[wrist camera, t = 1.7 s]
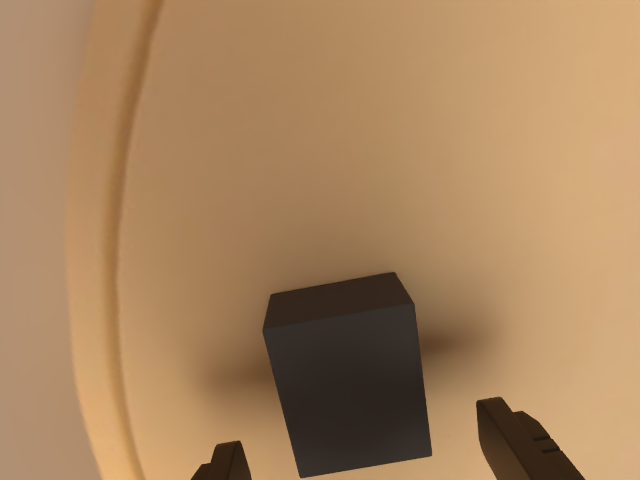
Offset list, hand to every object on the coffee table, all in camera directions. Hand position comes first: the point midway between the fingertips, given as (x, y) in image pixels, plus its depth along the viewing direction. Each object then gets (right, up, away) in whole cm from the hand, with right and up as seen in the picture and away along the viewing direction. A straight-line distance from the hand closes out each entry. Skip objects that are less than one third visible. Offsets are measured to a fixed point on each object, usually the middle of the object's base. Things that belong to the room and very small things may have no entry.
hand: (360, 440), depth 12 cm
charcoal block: (0, +2, +5) cm, 5 cm away
